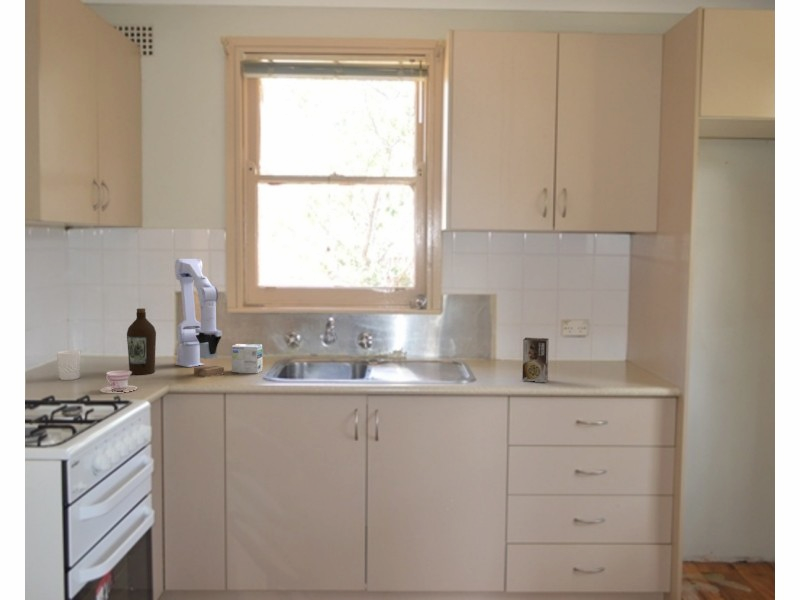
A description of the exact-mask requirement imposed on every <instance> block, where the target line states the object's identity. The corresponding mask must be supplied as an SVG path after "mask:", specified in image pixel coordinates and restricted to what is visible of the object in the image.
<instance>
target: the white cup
mask: <svg viewBox="0 0 800 600" xmlns="http://www.w3.org/2000/svg"><path fill="white" fill-rule="evenodd" d="M56 355H57V356H56V359H57V370H58V376H59V377H58V378H59V380H61V381H69V380H70V381H72V380H77V379H79V378H80V370H81V350H78V349H71V350H70V349H69V350H67V349H66V350H60V351H59V350H58V351H57V352H56Z"/></svg>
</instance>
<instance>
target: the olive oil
mask: <svg viewBox="0 0 800 600" xmlns="http://www.w3.org/2000/svg"><path fill="white" fill-rule="evenodd" d="M146 313H147V312H146V308H143V307H141V308H140V307H139V308H137V309H136V318H135V320H134V321H133V322H132V323H131V324H130V325H129V326H128V328H127V332H126V343H127V354H128V357H127V358H128V371H131V372H132V373H131V375H136V376H137V375H138V376H140V375H150V374H151V375H152V374H153V373H155V372H156V347H157V346H156V341H157V340H156V339H157V331H156V329H155V326H154V325H153V324H152V323H151V322H150V321H149V320H148V319H147V318H146V317H147V314H146Z"/></svg>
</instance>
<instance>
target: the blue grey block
mask: <svg viewBox="0 0 800 600" xmlns="http://www.w3.org/2000/svg"><path fill="white" fill-rule="evenodd" d="M217 349H218V348H217ZM217 349H216V353H215V354H210V352H209V344H208V342H206V343H200V359H206V360H208V359H215V358H217V357H218V356H217V352H218V351H217Z"/></svg>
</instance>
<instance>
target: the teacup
mask: <svg viewBox="0 0 800 600" xmlns="http://www.w3.org/2000/svg"><path fill="white" fill-rule="evenodd" d="M131 373H132V372H131V371H129V370H112V371H107V372H106V374H105V377H106V378H105V379H106V381H107V382H108V383H109V384H110V385H109V386H104V387H103V388H101V389H100V390H99V391H100V392H101V393H103V394H124V392H117V391H121V390H123V391H125V390H126V389H125V388H126V387H135V389H134V390H135V391H137V390H138V389H137V388H139V387H137V386H136V385H129V383H128V382H129V381H128V380H129V378H130V376H131V375H132V374H131ZM111 388H112V389H113V390H112V389H111ZM106 389H108V390H110V392H105V391H104V390H106ZM136 389H137V390H136ZM111 390H112V391H113V392H112V391H111ZM131 391H132V392H134V391H133V390H131ZM125 392H126V393H130V392H129V391H125Z"/></svg>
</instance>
